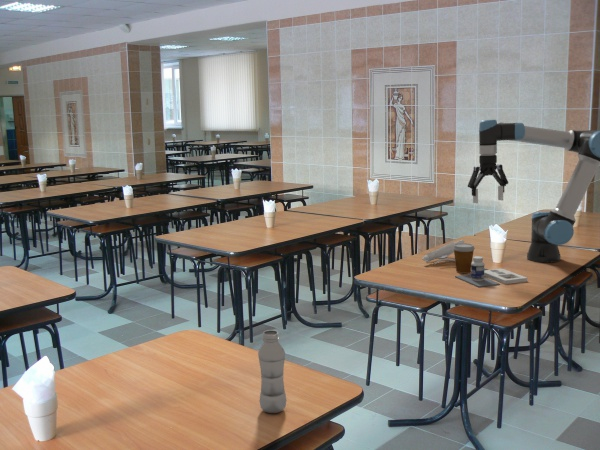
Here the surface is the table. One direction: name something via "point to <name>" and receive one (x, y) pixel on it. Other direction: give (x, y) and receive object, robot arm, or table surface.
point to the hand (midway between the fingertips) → (488, 201)
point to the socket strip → (504, 276)
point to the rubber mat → (477, 283)
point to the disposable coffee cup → (463, 257)
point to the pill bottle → (477, 269)
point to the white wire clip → (441, 253)
